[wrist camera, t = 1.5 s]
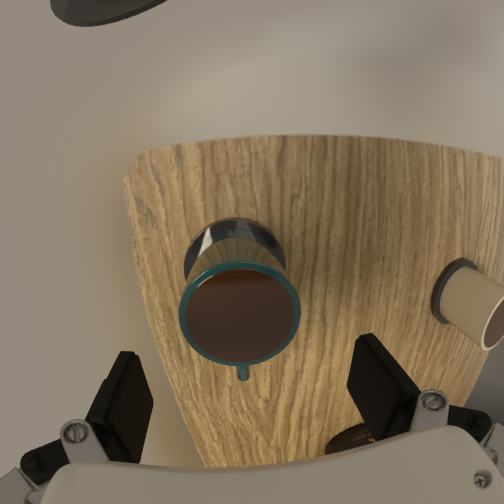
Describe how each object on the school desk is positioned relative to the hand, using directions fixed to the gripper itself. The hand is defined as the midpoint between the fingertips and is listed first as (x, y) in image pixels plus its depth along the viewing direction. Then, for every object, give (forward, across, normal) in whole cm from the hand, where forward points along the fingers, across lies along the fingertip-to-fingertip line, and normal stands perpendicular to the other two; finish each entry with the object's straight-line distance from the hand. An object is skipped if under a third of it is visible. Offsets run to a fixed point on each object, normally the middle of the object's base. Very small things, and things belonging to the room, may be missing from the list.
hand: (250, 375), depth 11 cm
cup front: (+12, 0, +1) cm, 12 cm away
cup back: (+12, -26, +4) cm, 29 cm away
